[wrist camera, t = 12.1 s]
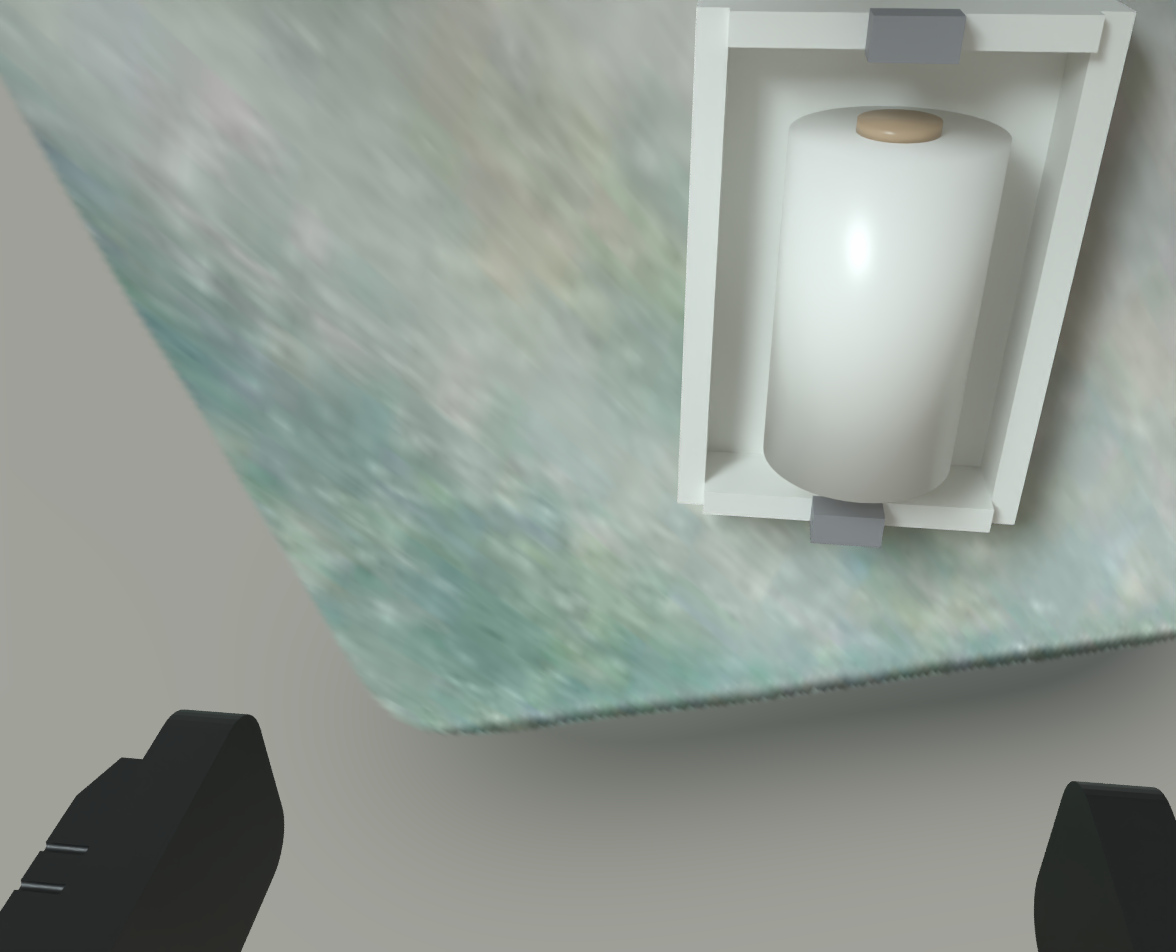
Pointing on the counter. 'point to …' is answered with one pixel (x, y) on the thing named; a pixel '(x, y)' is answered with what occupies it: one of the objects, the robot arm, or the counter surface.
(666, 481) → the counter surface
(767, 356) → the holder
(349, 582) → the counter surface
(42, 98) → the counter surface
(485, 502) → the counter surface
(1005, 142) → the paper roll
